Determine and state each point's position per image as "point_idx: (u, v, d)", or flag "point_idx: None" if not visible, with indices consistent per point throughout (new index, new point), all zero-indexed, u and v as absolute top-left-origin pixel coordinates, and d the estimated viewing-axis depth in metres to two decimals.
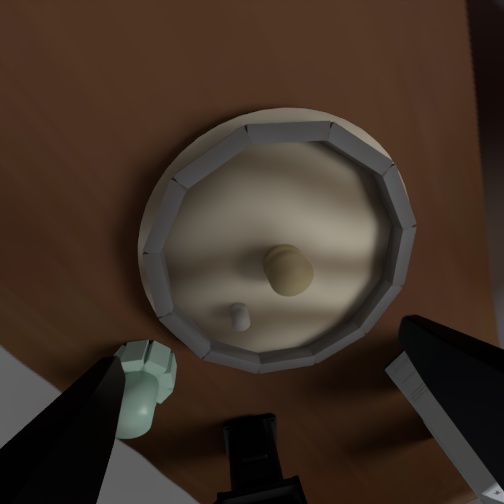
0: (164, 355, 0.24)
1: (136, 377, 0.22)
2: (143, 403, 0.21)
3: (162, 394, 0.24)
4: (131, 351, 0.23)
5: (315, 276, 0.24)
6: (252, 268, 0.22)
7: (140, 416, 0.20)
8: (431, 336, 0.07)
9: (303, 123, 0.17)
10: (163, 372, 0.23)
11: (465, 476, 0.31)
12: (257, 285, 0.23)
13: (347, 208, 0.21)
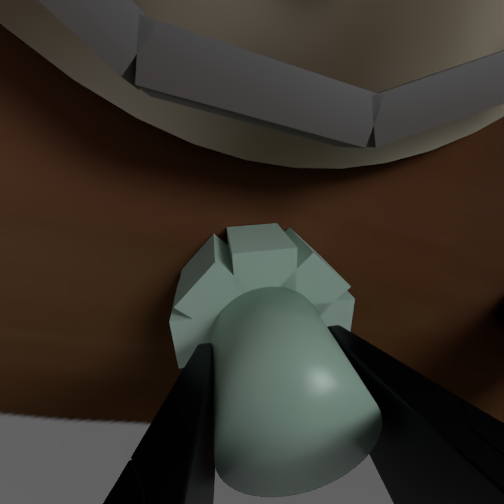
0: (270, 234, 0.09)
1: (235, 312, 0.07)
2: (299, 359, 0.05)
3: (337, 319, 0.09)
4: (191, 272, 0.09)
5: None
6: None
7: (322, 405, 0.05)
8: (344, 349, 0.07)
9: None
10: (295, 263, 0.08)
11: None
12: None
13: None
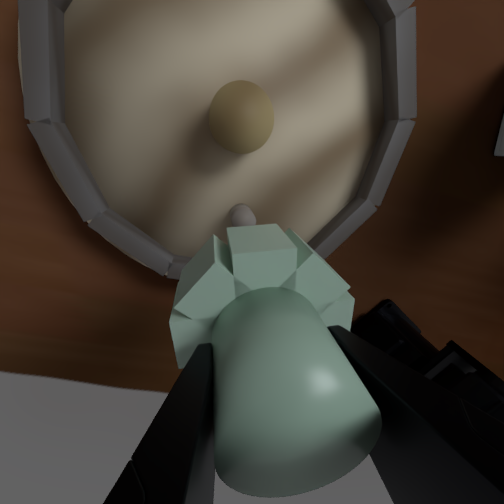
0: (269, 234, 0.09)
1: (235, 313, 0.07)
2: (299, 360, 0.05)
3: (337, 319, 0.09)
4: (190, 273, 0.09)
5: (289, 105, 0.16)
6: (210, 156, 0.17)
7: (322, 405, 0.05)
8: (344, 349, 0.07)
9: None
10: (295, 263, 0.08)
11: None
12: (234, 171, 0.18)
13: None
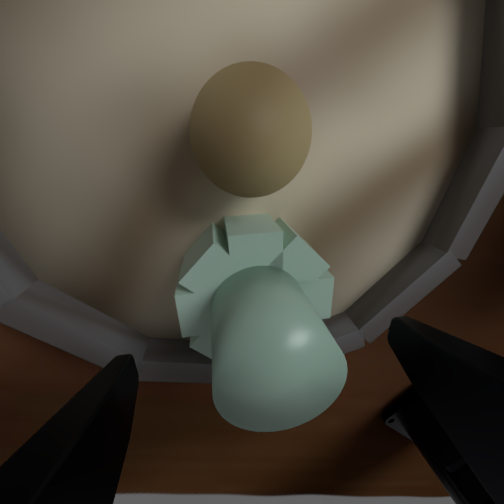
0: (261, 221, 0.10)
1: (230, 285, 0.09)
2: (280, 315, 0.07)
3: (319, 295, 0.10)
4: (192, 254, 0.10)
5: (328, 106, 0.10)
6: (198, 194, 0.10)
7: (297, 349, 0.06)
8: (419, 338, 0.07)
9: None
10: (282, 245, 0.09)
11: None
12: (238, 215, 0.11)
13: None
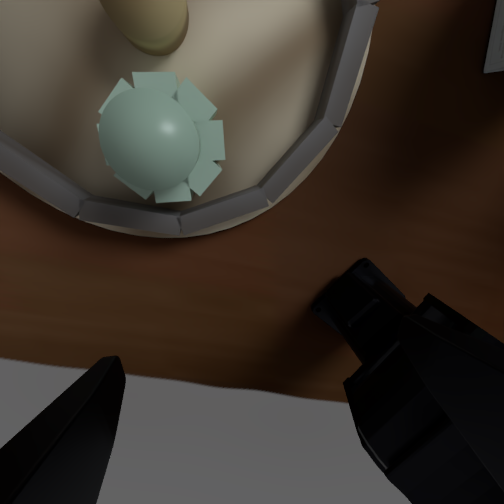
0: None
1: None
2: None
3: (212, 136, 0.13)
4: None
5: None
6: (121, 61, 0.13)
7: (154, 107, 0.09)
8: (431, 336, 0.07)
9: None
10: (175, 84, 0.12)
11: None
12: None
13: None
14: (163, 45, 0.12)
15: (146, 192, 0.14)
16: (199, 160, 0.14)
